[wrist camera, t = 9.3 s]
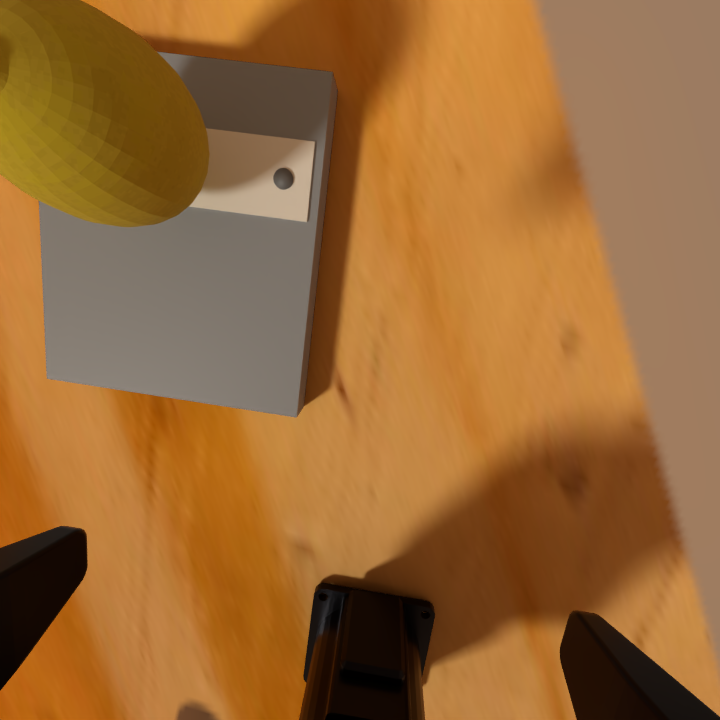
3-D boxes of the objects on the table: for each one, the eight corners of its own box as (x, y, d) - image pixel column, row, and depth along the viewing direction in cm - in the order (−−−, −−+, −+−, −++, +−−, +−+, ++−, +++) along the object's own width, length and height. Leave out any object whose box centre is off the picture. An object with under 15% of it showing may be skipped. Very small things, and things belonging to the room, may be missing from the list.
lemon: (120, 74, 15) (-173, -149, 7) (255, 113, 15) (109, -71, 7) (102, 218, 16) (-165, 161, 8) (227, 254, 16) (77, 231, 8)
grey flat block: (303, 406, 19) (295, 418, 17) (72, 370, 19) (43, 379, 18) (337, 91, 16) (331, 69, 14) (63, 58, 16) (27, 34, 15)
